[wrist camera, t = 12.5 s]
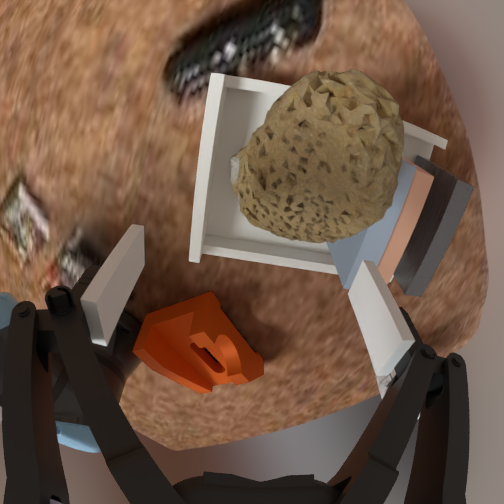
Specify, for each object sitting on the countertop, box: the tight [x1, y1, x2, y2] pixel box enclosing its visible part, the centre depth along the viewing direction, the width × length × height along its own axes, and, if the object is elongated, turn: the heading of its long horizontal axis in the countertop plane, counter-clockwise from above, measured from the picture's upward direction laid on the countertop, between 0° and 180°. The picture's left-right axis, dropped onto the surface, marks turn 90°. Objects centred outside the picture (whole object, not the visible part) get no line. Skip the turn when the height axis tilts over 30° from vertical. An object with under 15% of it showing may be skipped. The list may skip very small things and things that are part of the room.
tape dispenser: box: [132, 291, 264, 394], centre depth 44 cm, size 18×13×8 cm
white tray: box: [189, 73, 448, 282], centre depth 31 cm, size 26×20×6 cm
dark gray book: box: [393, 155, 474, 297], centre depth 29 cm, size 2×14×9 cm, turn 170°
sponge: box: [230, 70, 404, 243], centre depth 22 cm, size 13×8×20 cm, turn 22°
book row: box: [326, 156, 434, 289], centre depth 28 cm, size 5×13×10 cm, turn 170°
